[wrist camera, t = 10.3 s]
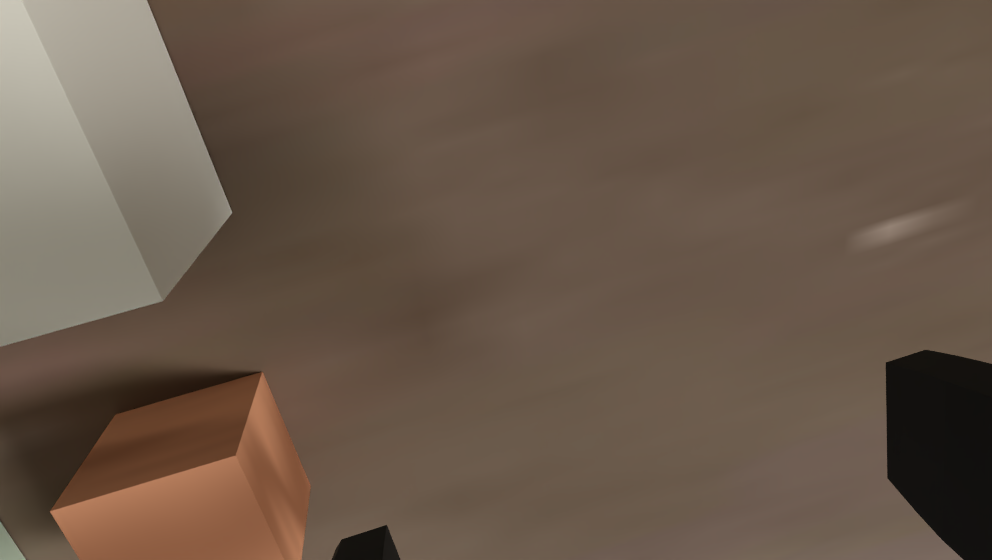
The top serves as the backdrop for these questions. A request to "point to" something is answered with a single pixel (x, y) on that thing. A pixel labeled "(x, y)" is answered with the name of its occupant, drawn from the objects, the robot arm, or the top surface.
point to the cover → (94, 166)
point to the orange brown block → (191, 482)
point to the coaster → (8, 547)
